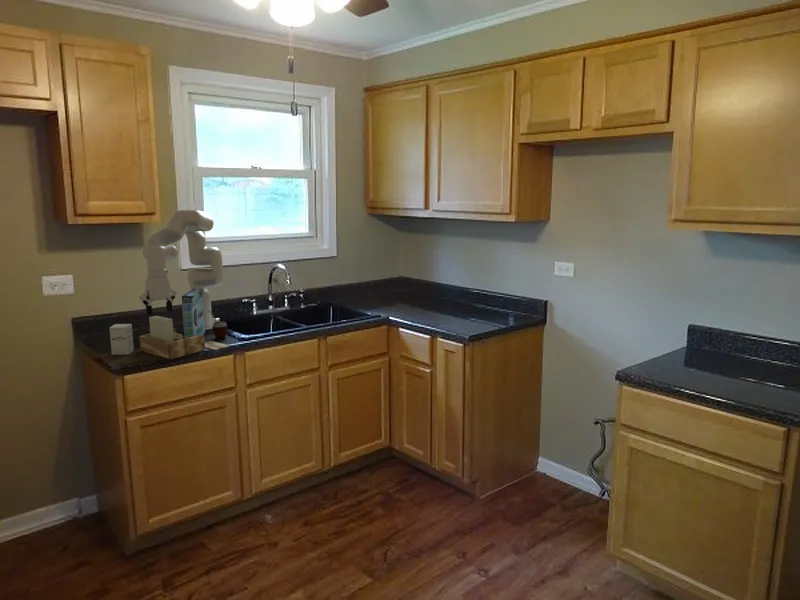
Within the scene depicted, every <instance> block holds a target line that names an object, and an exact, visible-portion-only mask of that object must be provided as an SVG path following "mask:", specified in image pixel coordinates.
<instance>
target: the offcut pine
mask: <svg viewBox="0 0 800 600" xmlns="http://www.w3.org/2000/svg"><path fill="white" fill-rule="evenodd" d="M182 336H183V334H182V333H177V332H176V333H174V337H178V338H182Z"/></svg>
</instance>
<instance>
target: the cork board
mask: <svg viewBox="0 0 800 600" xmlns="http://www.w3.org/2000/svg"><path fill="white" fill-rule="evenodd" d="M229 347H231V344H225V343H221V342H218V341H212V340H208V341H205V349H207V348H210V349H209V350H213V351H218V350H223V349H226V348H229Z"/></svg>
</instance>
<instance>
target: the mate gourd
mask: <svg viewBox="0 0 800 600" xmlns="http://www.w3.org/2000/svg"><path fill="white" fill-rule="evenodd" d="M207 311H209V310H207ZM209 312H210V313H211V315H212V318H214V320H215V316H214V313H213V312H212V310H211V311H209ZM228 329H229V328H228V325H227V323H226V322H225V321H218V322H216V320H215V323H214V324H213V328H212V329H211V331H212V332H213V334H214V336H215V341H218V339H219V340H224V339H225V340H227V339H226V337H227V336H226V335H227V333H228Z"/></svg>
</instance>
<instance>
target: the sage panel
mask: <svg viewBox="0 0 800 600" xmlns="http://www.w3.org/2000/svg"><path fill="white" fill-rule="evenodd" d="M148 320H149V332H150V333H149V334H150V335H151V338H154V339H158V340H162V341H166V342H174V333H173V328H174V322H173V318H170V317H169V318H168V317H164V316H160V315H154V316H152V315H151V316H149V317H148Z"/></svg>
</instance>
